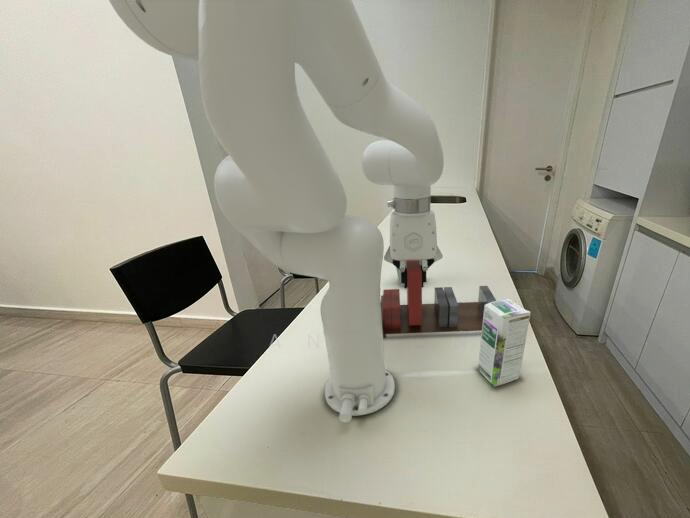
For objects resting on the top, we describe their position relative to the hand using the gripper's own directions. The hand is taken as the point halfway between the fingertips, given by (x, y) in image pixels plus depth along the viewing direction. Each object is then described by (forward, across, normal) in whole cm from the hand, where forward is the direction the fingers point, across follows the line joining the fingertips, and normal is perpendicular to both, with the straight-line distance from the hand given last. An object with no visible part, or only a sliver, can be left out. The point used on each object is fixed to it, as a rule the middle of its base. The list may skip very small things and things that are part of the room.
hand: (413, 284), depth 77 cm
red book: (+8, 0, 0) cm, 8 cm away
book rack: (+10, +6, 0) cm, 11 cm away
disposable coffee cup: (+10, 0, +23) cm, 25 cm away
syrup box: (+10, +15, -21) cm, 28 cm away
